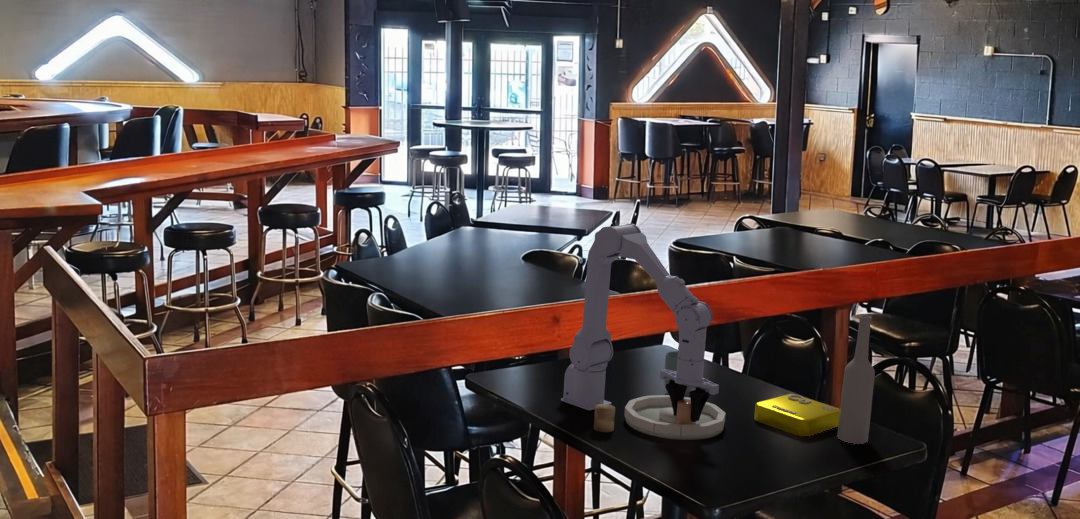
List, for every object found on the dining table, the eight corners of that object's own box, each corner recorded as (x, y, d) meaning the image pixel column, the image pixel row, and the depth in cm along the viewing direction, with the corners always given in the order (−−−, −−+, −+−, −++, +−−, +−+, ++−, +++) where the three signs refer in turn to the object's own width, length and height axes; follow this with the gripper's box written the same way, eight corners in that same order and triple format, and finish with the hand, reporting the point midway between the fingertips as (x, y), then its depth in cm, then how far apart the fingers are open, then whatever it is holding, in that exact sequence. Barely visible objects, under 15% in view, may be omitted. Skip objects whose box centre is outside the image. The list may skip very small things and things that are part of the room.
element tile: (750, 420, 242) (752, 400, 241) (790, 409, 252) (791, 390, 251) (803, 439, 231) (805, 419, 230) (843, 427, 241) (845, 407, 240)
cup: (693, 400, 254) (696, 361, 252) (661, 397, 255) (664, 357, 253) (695, 391, 261) (698, 353, 259) (664, 388, 263) (666, 349, 261)
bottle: (850, 445, 227) (863, 320, 222) (830, 435, 233) (843, 313, 228) (874, 443, 230) (888, 319, 225) (854, 433, 236) (867, 312, 231)
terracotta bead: (671, 423, 230) (673, 401, 229) (683, 419, 233) (685, 398, 232) (687, 428, 227) (689, 406, 226) (699, 425, 230) (701, 403, 229)
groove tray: (605, 419, 237) (606, 406, 236) (666, 401, 252) (667, 389, 251) (682, 447, 221) (683, 433, 221) (743, 426, 236) (744, 413, 236)
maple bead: (589, 428, 230) (590, 406, 229) (603, 424, 233) (604, 402, 233) (604, 433, 227) (605, 411, 226) (617, 429, 230) (619, 407, 229)
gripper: (653, 353, 230) (649, 412, 232) (706, 368, 220) (701, 430, 222) (673, 348, 235) (669, 406, 237) (726, 363, 224) (721, 424, 227)
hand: (686, 417), depth 230 cm, fingers closed on terracotta bead, 4 cm apart
